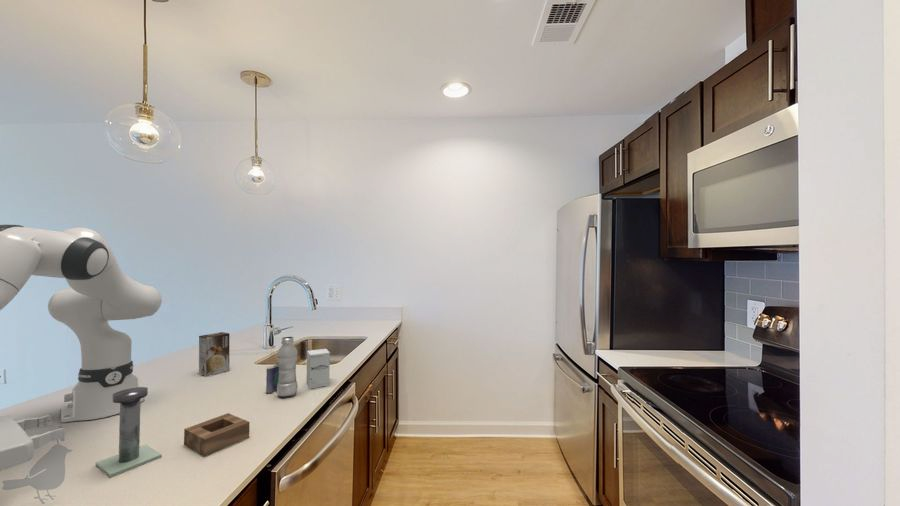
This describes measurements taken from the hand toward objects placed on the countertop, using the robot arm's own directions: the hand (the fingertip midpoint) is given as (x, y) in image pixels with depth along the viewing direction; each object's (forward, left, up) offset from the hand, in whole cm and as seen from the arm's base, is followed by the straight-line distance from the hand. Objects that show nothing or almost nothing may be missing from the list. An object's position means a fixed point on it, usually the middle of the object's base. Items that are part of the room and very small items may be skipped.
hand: (57, 425), depth 70 cm
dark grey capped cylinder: (0, +11, -12) cm, 17 cm away
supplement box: (-3, +67, -13) cm, 68 cm away
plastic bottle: (-4, +55, -13) cm, 56 cm away
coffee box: (-53, +55, -13) cm, 77 cm away
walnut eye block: (+8, +27, -13) cm, 31 cm away
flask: (-12, +57, -13) cm, 59 cm away
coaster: (0, +12, -13) cm, 17 cm away
